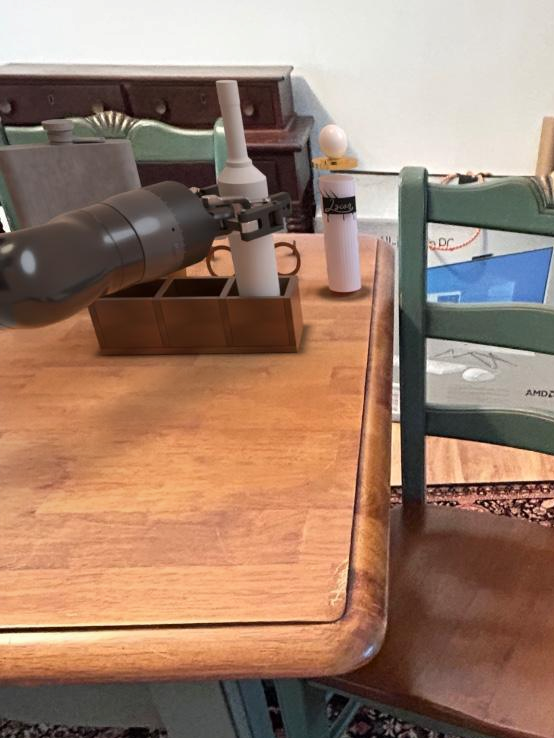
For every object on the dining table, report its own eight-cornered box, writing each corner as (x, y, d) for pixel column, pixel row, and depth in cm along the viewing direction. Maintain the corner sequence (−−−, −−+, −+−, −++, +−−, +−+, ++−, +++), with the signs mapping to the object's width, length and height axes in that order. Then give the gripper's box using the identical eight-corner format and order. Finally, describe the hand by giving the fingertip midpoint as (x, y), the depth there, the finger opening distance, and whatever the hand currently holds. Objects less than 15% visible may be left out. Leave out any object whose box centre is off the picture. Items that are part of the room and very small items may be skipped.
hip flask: (44, 299, 100) (-16, 126, 87) (43, 290, 103) (-15, 121, 90) (165, 285, 105) (125, 119, 92) (161, 276, 108) (122, 114, 94)
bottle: (236, 331, 89) (189, 80, 73) (272, 321, 92) (236, 77, 75) (258, 343, 86) (215, 85, 70) (295, 332, 89) (262, 81, 73)
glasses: (210, 285, 105) (202, 248, 102) (211, 258, 114) (205, 223, 111) (303, 279, 107) (298, 242, 104) (297, 253, 117) (292, 219, 113)
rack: (102, 355, 86) (85, 300, 82) (121, 329, 92) (106, 277, 88) (297, 352, 87) (290, 298, 83) (303, 327, 93) (297, 275, 89)
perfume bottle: (323, 286, 105) (306, 121, 92) (363, 284, 106) (352, 120, 93) (326, 300, 101) (309, 128, 87) (368, 297, 101) (357, 127, 88)
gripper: (200, 198, 65) (306, 165, 76) (84, 181, 70) (199, 152, 81) (217, 286, 70) (314, 243, 81) (107, 264, 75) (213, 226, 86)
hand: (256, 198), depth 81 cm, fingers open, 8 cm apart
